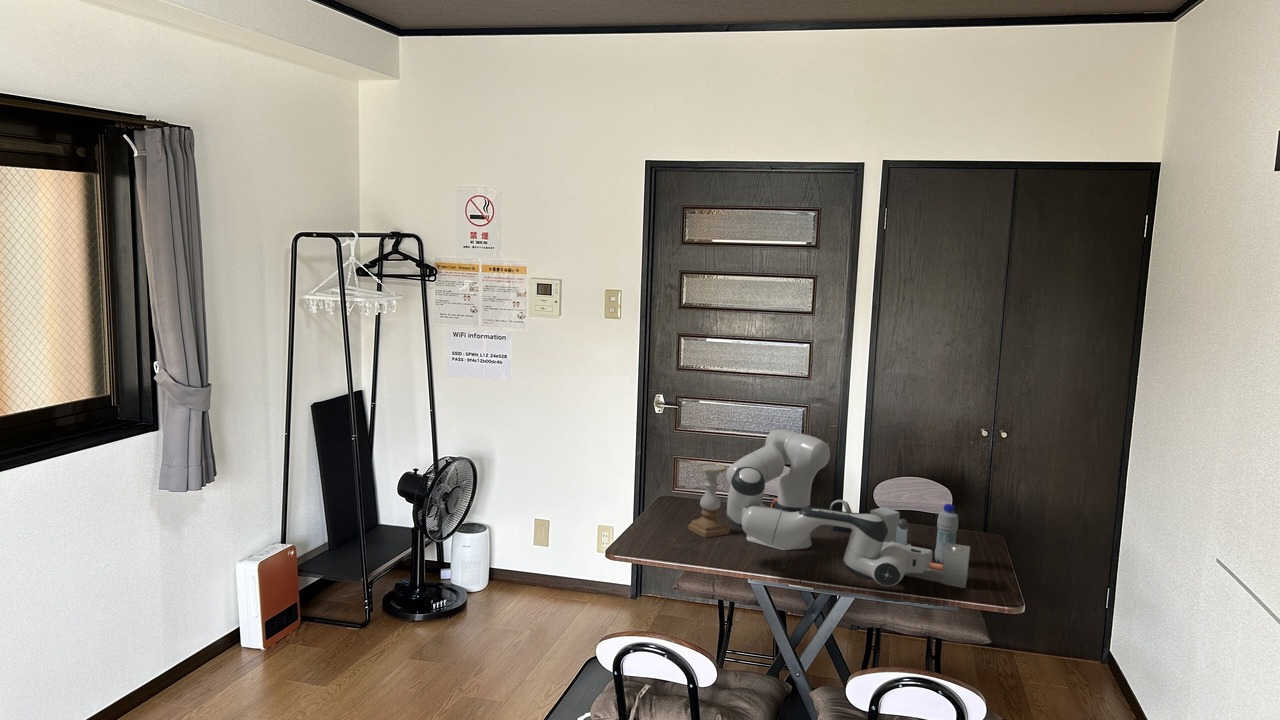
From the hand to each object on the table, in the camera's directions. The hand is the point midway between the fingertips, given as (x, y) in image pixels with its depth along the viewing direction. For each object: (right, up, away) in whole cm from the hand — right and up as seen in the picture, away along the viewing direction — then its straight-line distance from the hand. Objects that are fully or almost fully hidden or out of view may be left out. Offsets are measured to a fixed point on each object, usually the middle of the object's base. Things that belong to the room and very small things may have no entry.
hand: (901, 544), depth 271 cm
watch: (-10, -4, +42) cm, 44 cm away
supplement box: (+2, -6, +26) cm, 27 cm away
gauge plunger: (+11, -7, -5) cm, 14 cm away
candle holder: (-59, -3, +34) cm, 68 cm away
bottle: (+18, -9, +12) cm, 23 cm away
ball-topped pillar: (0, -8, 0) cm, 9 cm away
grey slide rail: (+5, -10, 0) cm, 11 cm away
